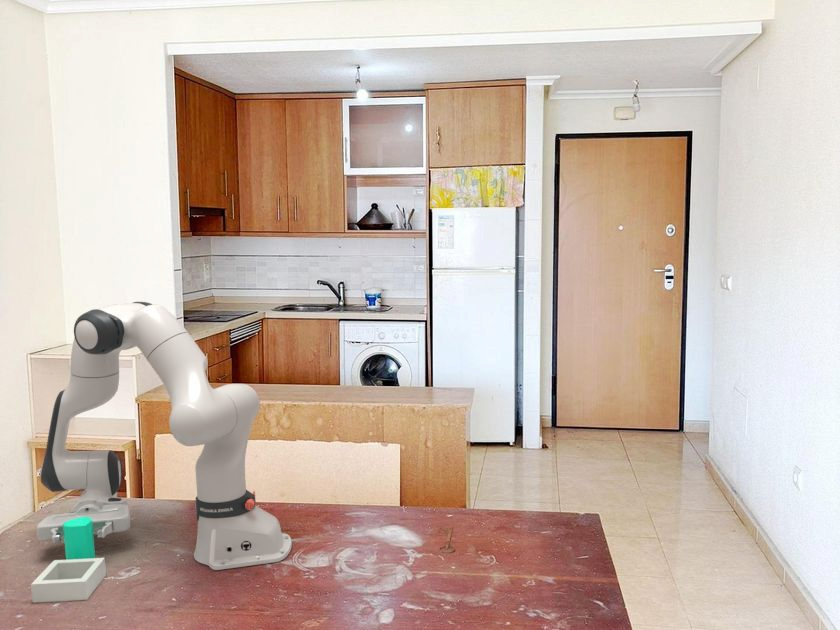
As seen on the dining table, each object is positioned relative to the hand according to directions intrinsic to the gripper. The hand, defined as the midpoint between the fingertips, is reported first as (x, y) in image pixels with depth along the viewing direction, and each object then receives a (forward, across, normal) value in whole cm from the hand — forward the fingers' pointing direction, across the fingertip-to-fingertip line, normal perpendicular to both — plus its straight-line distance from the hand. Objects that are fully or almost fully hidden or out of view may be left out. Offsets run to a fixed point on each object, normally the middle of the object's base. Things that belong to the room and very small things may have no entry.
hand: (78, 537), depth 168 cm
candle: (-1, 0, +7) cm, 7 cm away
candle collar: (+10, 0, +7) cm, 13 cm away
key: (+10, +83, +8) cm, 84 cm away
